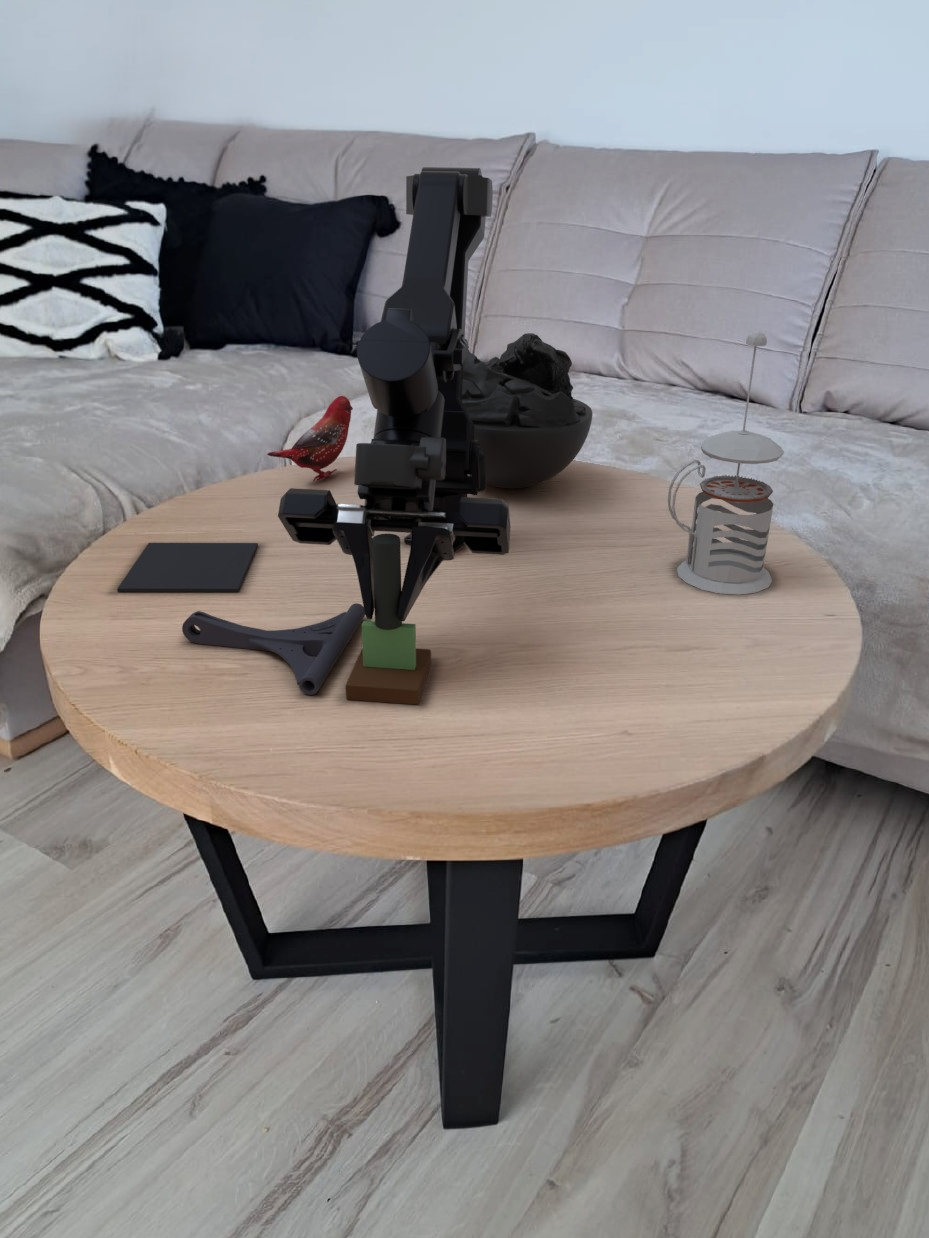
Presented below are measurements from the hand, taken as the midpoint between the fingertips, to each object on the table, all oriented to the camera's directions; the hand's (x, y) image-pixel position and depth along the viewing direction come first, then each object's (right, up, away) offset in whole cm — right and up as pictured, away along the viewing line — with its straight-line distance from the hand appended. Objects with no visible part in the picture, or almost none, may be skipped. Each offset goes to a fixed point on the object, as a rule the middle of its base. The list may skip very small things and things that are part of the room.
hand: (384, 618), depth 80 cm
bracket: (-12, -3, +9) cm, 15 cm away
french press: (+33, +4, +25) cm, 41 cm away
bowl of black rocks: (+12, +17, +50) cm, 54 cm away
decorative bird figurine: (-13, +18, +50) cm, 54 cm away
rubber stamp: (0, -5, +4) cm, 7 cm away
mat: (-22, +5, +25) cm, 34 cm away
